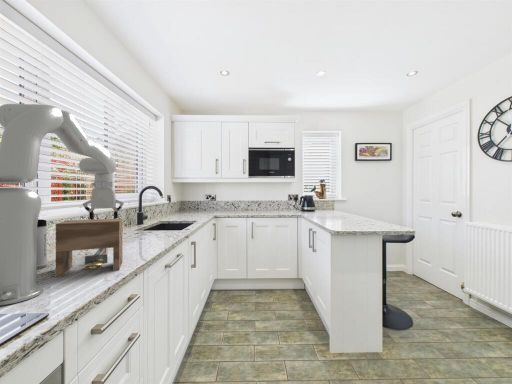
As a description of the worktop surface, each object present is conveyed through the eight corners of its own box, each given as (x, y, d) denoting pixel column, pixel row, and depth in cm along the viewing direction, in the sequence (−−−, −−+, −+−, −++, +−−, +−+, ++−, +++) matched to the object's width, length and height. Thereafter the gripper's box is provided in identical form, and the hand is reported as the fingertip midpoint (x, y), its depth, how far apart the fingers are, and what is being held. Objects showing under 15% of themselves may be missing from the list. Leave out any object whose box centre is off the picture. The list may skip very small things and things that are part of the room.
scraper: (107, 262, 105) (107, 246, 105) (84, 265, 102) (84, 248, 102) (113, 252, 123) (113, 238, 123) (94, 254, 120) (94, 239, 120)
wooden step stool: (119, 270, 96) (119, 221, 96) (55, 276, 88) (55, 224, 88) (122, 261, 107) (122, 218, 107) (66, 267, 99) (66, 220, 99)
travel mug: (21, 269, 96) (21, 218, 97) (42, 264, 102) (42, 217, 102) (28, 271, 94) (28, 219, 94) (49, 266, 99) (49, 217, 99)
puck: (100, 269, 98) (100, 265, 98) (82, 270, 95) (82, 267, 95) (103, 265, 103) (103, 261, 103) (86, 266, 101) (86, 263, 101)
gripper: (80, 185, 113) (80, 221, 113) (122, 185, 120) (122, 220, 120) (84, 185, 120) (84, 220, 120) (124, 185, 127) (124, 218, 127)
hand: (103, 220), depth 120 cm, fingers open, 9 cm apart
